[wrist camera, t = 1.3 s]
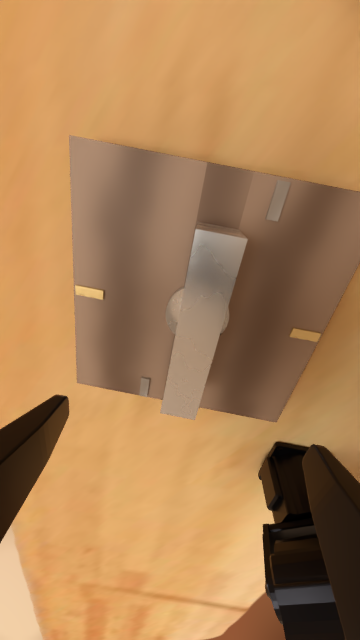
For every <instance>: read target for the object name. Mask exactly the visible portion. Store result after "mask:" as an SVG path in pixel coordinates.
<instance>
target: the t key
mask: <svg viewBox="0 0 360 640" xmlns="http://www.w3.org/2000/svg"><path fill="white" fill-rule="evenodd" d="M247 240H248V239H247V238H246V237H245V236H244V235H243V234H242V233H241V232H240V231H239V230H238V229H233V228H227V227H222V226H217V225H212V224H207V223H202V222H198V223H197V226H196V230H195V235H194V240H193V245H192V251H191V256H190V261H189V266H188V272H187V277H186V282H185V286H183V287H181V288H179V289H178V290H177V291H176V292H175V293H174V294H173V295H172V296H171V298H170V300H169V302H168V305H167V308H166V321H167V324H168V326H169V328H170V330H171V331H172V332H173V333H174V334H175V339H174V344H173V350H172V355H171V360H170V365H169V370H168V376H167V381H166V386H165V391H164V397H163V402H162V407H161V412H160V413H162V414H167V415H172V416H177V417H182V418H187V419H192V420H195V418H196V415H197V411H198V408H199V404H200V401H201V398H202V394H203V391H204V387H205V384H206V380H207V377H208V374H209V370H210V367H211V363H212V360H213V356H214V353H215V350H216V346H217V343H218V339H219V336H220V335H221V334H222V333H223V331H224V330H225V329H226V327H227V324H228V321H229V309H228V305H229V302H230V298H231V295H232V291H233V288H234V285H235V281H236V278H237V274H238V271H239V267H240V264H241V261H242V257H243V254H244V250H245V247H246V243H247Z"/></svg>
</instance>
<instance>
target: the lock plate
mask: <svg viewBox="0 0 360 640" xmlns="http://www.w3.org/2000/svg"><path fill="white" fill-rule="evenodd" d="M69 146H70V177H71V208H72V240H73V271H74V302H75V334H76V365H77V383H80V384H85V385H90V386H95V387H100V388H105V389H110V390H115V391H120V392H125V393H130V394H135V395H140V396H145V397H150V398H155V399H160V400H163V397H164V391H165V386H166V381H167V376H168V370H169V365H170V360H171V355H172V350H173V344H174V339H175V334H174V333H173V332H172V331H171V330H170V328H169V326H168V324H167V321H166V308H167V305H168V302H169V300H170V298H171V296H172V295H173V294H174V293H175V292H176V291H177V290H178V289H179V288H181V287H183V286H185V282H186V277H187V272H188V266H189V261H190V256H191V251H192V245H193V240H194V235H195V230H196V226H197V223H198V222H202V223H207V224H212V225H217V226H222V227H227V228H233V229H238V230H239V231H240V232H241V233H242V234H243V235H244V236H245V237H246V238H247V239H248V240H247V243H246V247H245V250H244V254H243V257H242V261H241V264H240V267H239V271H238V274H237V278H236V281H235V285H234V288H233V291H232V295H231V298H230V302H229V305H228V309H229V321H228V324H227V327H226V329H225V330H224V331H223V333H222V334H221V335H220V336H219V339H218V343H217V346H216V350H215V353H214V356H213V360H212V363H211V367H210V370H209V374H208V377H207V380H206V384H205V387H204V391H203V394H202V398H201V401H200V404H199V407H201V408H206V409H211V410H216V411H221V412H226V413H231V414H236V415H241V416H246V417H251V418H256V419H261V420H266V421H271V422H277V420H278V418H279V417H280V415H281V413H282V411H283V409H284V407H285V405H286V403H287V401H288V399H289V397H290V395H291V394H292V392H293V390H294V388H295V386H296V384H297V382H298V380H299V378H300V376H301V374H302V372H303V371H304V369H305V367H306V365H307V363H308V361H309V359H310V357H311V355H312V353H313V351H314V349H315V348H316V346H317V344H318V342H319V340H320V338H321V336H322V334H323V332H324V330H325V328H326V326H327V324H328V323H329V321H330V319H331V317H332V315H333V313H334V311H335V309H336V307H337V305H338V303H339V301H340V300H341V298H342V296H343V294H344V292H345V290H346V288H347V286H348V284H349V282H350V280H351V278H352V277H353V275H354V273H355V271H356V269H357V267H358V265H359V263H360V192H358V191H352V190H347V189H342V188H337V187H332V186H327V185H322V184H317V183H311V182H306V181H301V180H296V179H291V178H286V177H281V176H276V175H271V174H265V173H260V172H255V171H250V170H245V169H240V168H235V167H230V166H225V165H219V164H214V163H209V162H204V161H199V160H194V159H189V158H184V157H179V156H173V155H168V154H163V153H158V152H153V151H148V150H143V149H138V148H133V147H127V146H122V145H117V144H112V143H107V142H102V141H97V140H92V139H86V138H81V137H76V136H71V135H69Z"/></svg>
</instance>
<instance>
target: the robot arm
mask: <svg viewBox="0 0 360 640" xmlns="http://www.w3.org/2000/svg"><path fill="white" fill-rule="evenodd" d="M68 416H69V400H68V397H67V396H63V395H55V396H53V397H51V398H50V399H48V400H46V401H45V402H43V403H42V404H40V405H38V406H37V407H35V408H34V409H32V410H30V411H29V412H27V413H26V414H24V415H22V416H21V417H19V418H18V419H16V420H14V421H13V422H11V423H10V424H8V425H6V426H5V427H3V428H2V429H0V543H1V541H2V539H3V537H4V536H5V534H6V532H7V530H8V529H9V527H10V525H11V524H12V522H13V520H14V519H15V517H16V515H17V513H18V512H19V510H20V508H21V507H22V505H23V503H24V501H25V500H26V498H27V496H28V495H29V493H30V491H31V489H32V488H33V486H34V484H35V483H36V481H37V479H38V477H39V476H40V474H41V472H42V471H43V469H44V467H45V465H46V464H47V462H48V460H49V458H50V456H51V454H52V452H53V449H54V447H55V445H56V443H57V441H58V438H59V436H60V434H61V432H62V430H63V428H64V425H65V423H66V421H67V419H68ZM258 476H259V479H260V480H262V484H263V489H264V494H265V499H266V504H267V508H268V509H269V510H271V511H272V512H273V517H274V522H275V524H263V549H264V564H265V578H266V582H265V589H266V593H267V596H268V597H269V598H270V599H271V600H272V603H273V607H274V610H275V613H276V615H277V617H278V619H279V621H280V623H281V624H283V627H284V632H285V638H286V640H360V483H359V482H358V481H357V480H356V479H355V478H354V477H353V476H352V475H351V473H350V472H349V471H348V470H347V469H346V468H345V467H344V466H343V465H342V464H341V463H340V462H339V461H338V460H337V459H336V458H335V457H334V456H333V454H332V453H331V452H330V451H329V450H328V449H327V448H325V447H324V446H320V445H315V444H313V445H311V446H310V448H304V447H299V446H294V445H289V444H284V443H276V444H275V445H274V446H273V448H272V450H271V452H270V453H269V455H268V457H267V458H266V460H265V462H264V463H263V465H262V467H261V469H260V472H259V473H258Z"/></svg>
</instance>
